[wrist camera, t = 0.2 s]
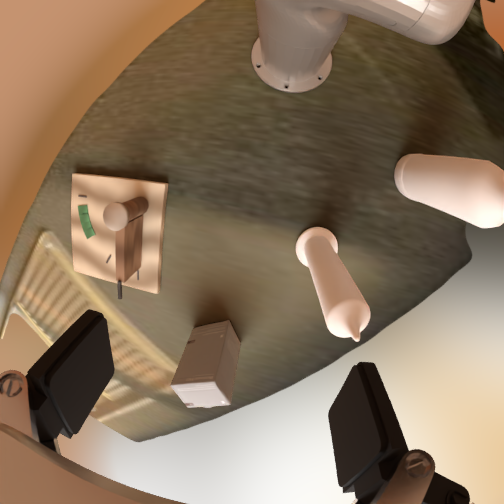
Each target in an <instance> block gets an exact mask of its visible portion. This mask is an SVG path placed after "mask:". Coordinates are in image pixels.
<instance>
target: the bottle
mask: <svg viewBox="0 0 504 504" xmlns="http://www.w3.org/2000/svg"><path fill="white" fill-rule="evenodd" d="M394 179H395V183H396V186H397V188H398V190H399V191H400V193H402V194H403V195H404V196H405V197H408V198H409V199H412V200H415V201H417V202H421V203H424V204H426V205H429V206H432V207H434V208H436V209H439V210H441V211H444V212H446V213H449V214H451V215H453V216H456V217H458V218H460V219H462V220H465V221H467V222H469V223H471V224H473V225H476V226H478V227H480V228H492V227H498V226H500V225H502V224H503V223H504V171H503V170H502V169H501V168H499V167H498V166H496V165H495V164H493V163H492V162H490V161H487V160H479V159H471V158H462V157H451V156H439V155H424V154H407V155H405V156H403V157H402V158H401V159H400V160H399V161H398V162H397V165H396V167H395V171H394Z"/></svg>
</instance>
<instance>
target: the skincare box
mask: <svg viewBox="0 0 504 504" xmlns="http://www.w3.org/2000/svg"><path fill="white" fill-rule="evenodd" d="M240 346H241V343H240V341H239V339H238V337H237V335H236V333H235V331H234V329H233V327H232V325H231V323H230V321H229V320H227V321H223V322H218V323H213V324H208V325H204V326H200V327H196V328H193V330H192V333H191V335H190V338H189V340H188V343H187V345H186V347H185V350H184V352H183V355H182V358H181V360H180V363H179V365H178V368H177V370H176V373H175V375H174V378H173V380H172V383H171V385H170V386H171V387H172V388H173V390H174V391H175V392H176V393H177V395H178V396H179V397H180V398H181V400H182V401H183V402H184V403H185V405H186V406H187V407H205V408H210V407H213V406H221V405H230V404H231V399H232V392H233V386H234V380H235V375H236V369H237V363H238V357H239V352H240Z"/></svg>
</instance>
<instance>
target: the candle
mask: <svg viewBox="0 0 504 504" xmlns="http://www.w3.org/2000/svg"><path fill="white" fill-rule="evenodd" d="M337 251H338V243H337V240H336V238H335V236H334V235H333V233H332V232H330V231H329V230H328V229H325V228H322V227H313V228H309V229H307V230H306V231H304V232H303V233H302V234H301V235H300V236H299V238H298V240H297V243H296V254H297V257H298V259H299V260H300V261H301V263H303V264H304V265H305V266H307V267H309V269H310V272H311V275H312V278H313V281H314V285H315V288H316V291H317V294H318V297H319V301H320V304H321V307H322V311H323V314H324V317H325V321H326V324H327V327H328V329H329V331H330V332H331V333H332V334H334V335H335V336H338V337H352V338H353V339H354V340H355V341H359V340H360V332H361V331H362V330H363V329H364V328H365V327H366V326H367V324H368V322H369V320H370V309H369V306H368V305H367V303H366V301H365V299H364V298H363V296H362V294H361V293H360V291H359V289H358V288H357V286H356V284H355V283H354V281H353V279H352V278H351V276H350V274H349V273H348V271H347V269H346V268H345V266H344V265H343V263H342V261H341V260H340V258H339V257H338V255H337Z"/></svg>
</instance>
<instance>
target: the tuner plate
mask: <svg viewBox="0 0 504 504" xmlns="http://www.w3.org/2000/svg"><path fill="white" fill-rule="evenodd" d="M167 191H168V183H161V182H154V181H146V180H138V179H130V178H121V177H112V176H103V175H93V174H82V173H75V174H73V175H72V197H71V228H72V251H73V264H74V271H76V272H80V273H83V274H86V275H90V276H93V277H97V278H100V279H103V280H107V281H111V282H114V283H118V282H117V281H116V257H115V239H116V231H113V230H110V229H109V228H108V227H107V226H106V225H105V223H104V220H103V212H104V209H105V207H106V206H107V205H108V204H110V203H113V202H121V203H123V202H126V201H128V200H131V199H134V198H136V197H140V196H141V197H144V198H145V199H146V200H147V201H148V205H149V207H148V210H147V212H146V213H144V214H142V215H143V229H142V251H141V267H140V268H139V269H138V270H137V271H136V272H135V273H134V274H133V275H132V276H131V277H130V278H129V279H128V280H127V281H126V282H125V283H123V282H122V285H125V286H129V287H133V288H136V289H140V290H144V291H148V292H152V293H156V294H158V292H159V291H160V282H161V261H162V245H163V232H164V220H165V210H166V200H167Z"/></svg>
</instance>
